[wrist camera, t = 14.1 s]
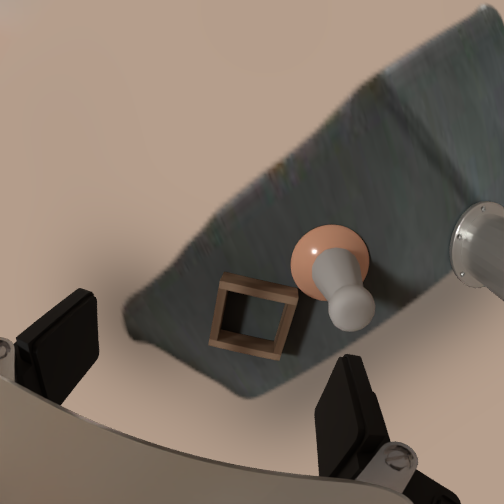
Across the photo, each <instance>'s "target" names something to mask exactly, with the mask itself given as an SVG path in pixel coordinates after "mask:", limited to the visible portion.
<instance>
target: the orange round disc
mask: <svg viewBox="0 0 504 504" xmlns="http://www.w3.org/2000/svg"><path fill="white" fill-rule="evenodd" d="M335 247H337V248H343V249H347V250H348V251H349V252H351V253H352V254H353V255H354V256H355V257H356V259H357V261H358V263H359V265H360V270H361V276H362V282H363V281H364V279H365V277H366V275H367V272H368V268H369V254H368V250H367V248H366V245H365V243H364V242H363V240H362V239H361V238H360V237H359V236H358V235H357V234H356V233H355V232H354V231H352V230H351V229H349V228H347V227H344V226H341V225H332V224H330V225H323V226H319V227H316V228H314V229H312V230H310V231H309V232H307V233H306V234H305V235H304V236H303V237H302V238H301V239H300V240H299V241H298V243H297V244H296V246H295V248H294V250H293V253H292V257H291V272H292V276H293V278H294V281H295V283H296V284H297V286H298V287H299V288H300V289H301V290H302V291H303V292H304V293H305V294H306V295H308V296H310V297H312V298H314V299H317V300H322V301H327V300H326V298H325V297H324V296H323V294H322V293H321V292H320V291H319V289H318V288H317V287H316V285H315V283H314V281H313V279H312V266H313V264H314V262H315V260H316V258H317V256H319V255H320V254H321V253H322V252H323V251H324V250H327V249H331V248H335Z"/></svg>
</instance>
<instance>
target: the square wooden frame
mask: <svg viewBox="0 0 504 504" xmlns="http://www.w3.org/2000/svg"><path fill="white" fill-rule="evenodd" d="M228 290H229V291H233V292H238V293H242V294H246V295H251V296H255V297H259V298H264V299H268V300H273V301H277V302H282V303H285V306H284V309H283V313H282V316H281V320H280V323H279V327H278V330H277V333H276V337H275V340H274V341H271V340H266V339H261V338H257V337H252V336H247V335H243V334H239V333H234V332H230V331H226V330H222V329H221V326H222V321H223V316H224V311H225V306H226V300H227V295H228ZM298 299H299V297H298V288H294V287H289V286H285V285H280V284H276V283H271V282H267V281H262V280H258V279H254V278H249V277H245V276H241V275H236V274H232V273H228V272H224V273H223V275H222V278H221V280H220V283H219V289H218V294H217V300H216V305H215V311H214V316H213V322H212V328H211V333H210V339H209V345H210V346H215V347H219V348H223V349H227V350H231V351H236V352H240V353H244V354H249V355H254V356H258V357H263V358H268V359H273V360H278V361H279V359H280V356H281V353H282V350H283V347H284V344H285V341H286V338H287V335H288V331H289V328H290V325H291V322H292V318H293V315H294V312H295V309H296V305H297V302H298Z"/></svg>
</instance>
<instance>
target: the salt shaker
mask: <svg viewBox="0 0 504 504" xmlns="http://www.w3.org/2000/svg"><path fill="white" fill-rule="evenodd" d="M312 279H313V281H314V283H315V285H316V287H317V288H318V289H319V291H320V292H321V293H322V294H323V296H324V297H325V298H326V300H327V301H328V302H329V316H330V318H331V320H332V322H333V323H334V325H335V326H336V327H338V328H339V329H341V330H343V331H350V332H353V331H357V330H360V329H362V328H364V327H365V326H366V325H368V324H369V323H370V321H371V320H372V318H373V316H374V313H375V302H374V300H373V298H372V295H371V293H370V292H369V291H368V290H366V289H365V288H364V287H363V282H362V276H361V270H360V265H359V263H358V261H357V259H356V257H355V256H354V255H353V254H352V253H351V252H349V251H348V250H347V249H343V248H337V247H335V248H331V249H327V250H324V251H323V252H322V253H321V254H320V255H319V256H317V258H316V260H315V262H314V264H313V266H312Z"/></svg>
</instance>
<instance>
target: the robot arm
mask: <svg viewBox="0 0 504 504" xmlns="http://www.w3.org/2000/svg"><path fill="white" fill-rule="evenodd" d="M449 254H450V262H451V266H452V269H453V271H454V273H455V275H456V276H457V278H458V279H459V280H460V281H462V282H463V283H464V284H466V285H467V286H469V287H473V288H481V287H487V288H488V289H489V290H490V291H492V292H493V293H494V294H495V295H497V296H498V297H499V298H500V299H502V300H503V301H504V207H502V206H501V205H499V204H497V203H494V202H490V201H482V202H479V203H476V204H474V205H472V206H471V207H469V208H468V209H467V210H466V211H465V212H464V213H463V214H462V216H461V217H460V219H459V220H458V222H457V224H456V226H455V228H454V231H453V234H452V237H451V242H450V252H449ZM97 322H98V321H97V299H96V297H94V294H93V293H92V292H90V291H87V290H85V289H81V288H79V289H77V290H76V291H74V292H73V293H72V294H70V295H69V296H68V297H66V298H65V299H64V300H62V301H61V302H60V303H59V304H57V305H56V306H55V307H53V308H52V309H51V310H50V311H48V312H47V313H46V314H45V315H43V316H42V317H41V318H39V319H38V320H37V321H36V322H34V323H33V324H32V325H31V326H30V327H28V328H27V329H26V330H25V331H23V332H22V333H21V334H20V335H18V336H17V337H16V340H17V341H16V342H15V343H14V344H13V343H12V342H11V341H10V340H8V339H6V338H2V337H0V504H461V503H460V500H459V498H458V497H457V495H456V494H454V493H453V492H452V491H450V490H448V489H447V488H445V487H444V486H442V485H440V484H439V483H437V482H435V481H434V480H432V479H431V478H429V477H427V476H426V475H424V474H423V473H421V472H420V471H418V470H416V468H417V465H418V458H417V455H416V453H415V452H414V451H413V449H412V448H410V447H409V446H408V445H406V444H403V443H401V442H390V438H389V435H388V432H387V428H386V425H385V422H384V419H383V415H382V412H381V409H380V406H379V403H378V400H377V397H376V394H375V393H374V392H373V391H372V389H371V386H370V383H369V380H368V377H367V374H366V371H365V368H364V365H363V362H362V359H361V357H360V356H355V355H350V354H345V355H344V356H343V357H339V358H338V360H337V363H336V365H335V367H334V370H333V372H332V374H331V376H330V378H329V380H328V383H327V385H326V387H325V389H324V391H323V393H322V396H321V398H320V400H319V402H318V404H317V406H316V408H315V427H316V439H317V453H318V467H319V476H310V475H300V474H291V473H284V472H276V471H270V470H263V469H257V468H250V467H245V466H240V465H234V464H230V463H225V462H220V461H216V460H211V459H207V458H203V457H199V456H195V455H191V454H187V453H184V452H180V451H177V450H173V449H170V448H167V447H163V446H160V445H157V444H154V443H151V442H148V441H145V440H142V439H139V438H136V437H133V436H130V435H128V434H125V433H122V432H120V431H117V430H114V429H112V428H109V427H107V426H104V425H102V424H99V423H97V422H95V421H92V420H90V419H88V418H86V417H83V416H81V415H79V414H77V413H75V412H72V411H70V410H68V409H66V408H64V407H62V406H61V404H62V403H63V402H64V400H65V399H66V398H67V397H68V395H69V394H70V393H71V391H72V390H73V389H74V388H75V386H76V385H77V384H78V382H79V381H80V380H81V379H82V377H83V376H84V375H85V374H86V372H87V371H88V370H89V369H90V368H91V366H92V365H93V364H94V363H95V361H96V360H97V359H98V356H99V341H98V323H97Z"/></svg>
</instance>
